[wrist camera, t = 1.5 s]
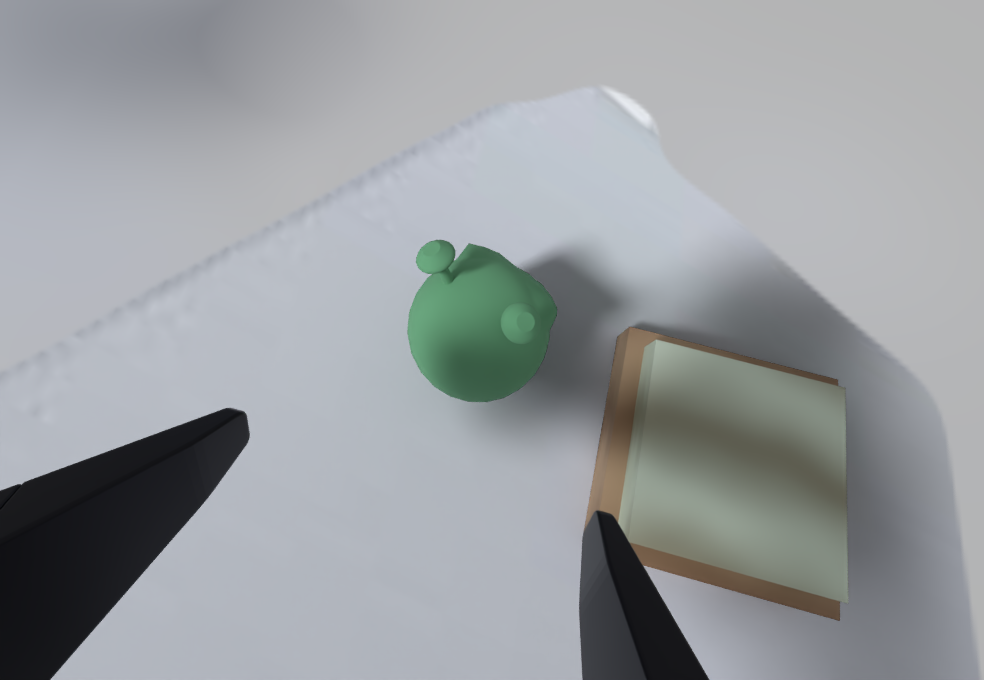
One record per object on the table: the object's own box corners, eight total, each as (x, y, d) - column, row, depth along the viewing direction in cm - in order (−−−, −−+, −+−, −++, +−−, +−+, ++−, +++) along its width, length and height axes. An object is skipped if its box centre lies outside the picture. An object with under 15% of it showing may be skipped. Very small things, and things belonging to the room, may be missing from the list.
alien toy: (564, 336, 23) (623, 258, 14) (487, 435, 22) (494, 423, 12) (478, 272, 25) (477, 158, 15) (397, 361, 23) (338, 295, 13)
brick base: (804, 604, 20) (871, 635, 16) (582, 541, 20) (602, 559, 17) (808, 385, 23) (863, 374, 20) (617, 336, 24) (640, 317, 20)
